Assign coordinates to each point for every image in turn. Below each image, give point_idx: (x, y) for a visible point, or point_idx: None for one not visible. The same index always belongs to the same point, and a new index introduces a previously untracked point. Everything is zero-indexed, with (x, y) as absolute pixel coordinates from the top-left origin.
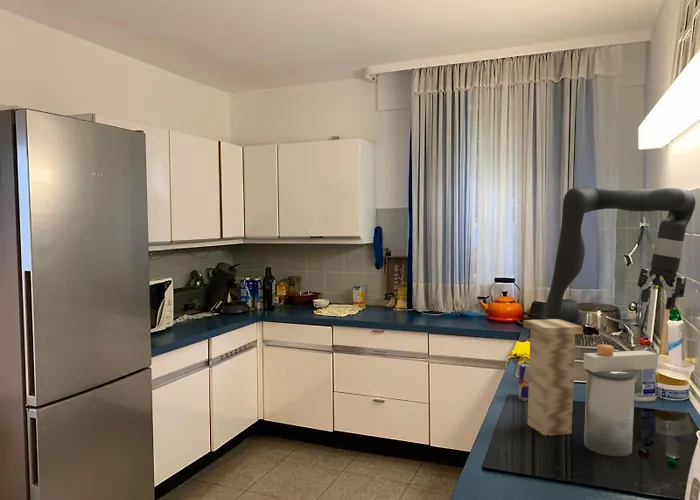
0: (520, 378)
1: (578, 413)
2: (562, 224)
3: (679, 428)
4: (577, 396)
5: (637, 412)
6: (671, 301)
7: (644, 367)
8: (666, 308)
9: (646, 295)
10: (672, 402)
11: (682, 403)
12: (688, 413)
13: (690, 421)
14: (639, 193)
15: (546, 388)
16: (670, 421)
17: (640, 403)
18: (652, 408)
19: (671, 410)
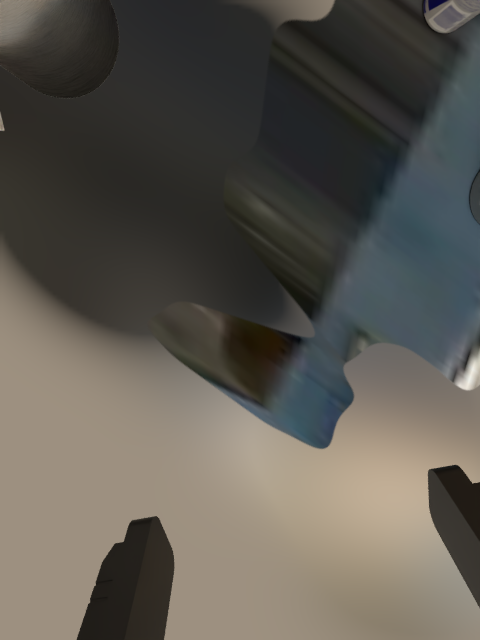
0: None
1: (303, 111)
2: None
3: (172, 319)
4: (426, 199)
5: (284, 288)
6: (85, 629)
7: None
8: (140, 521)
9: (474, 562)
10: (331, 417)
11: (321, 434)
12: (259, 405)
13: (211, 375)
14: None
15: None
16: (216, 329)
17: (340, 338)
18: (303, 344)
19: (283, 380)
